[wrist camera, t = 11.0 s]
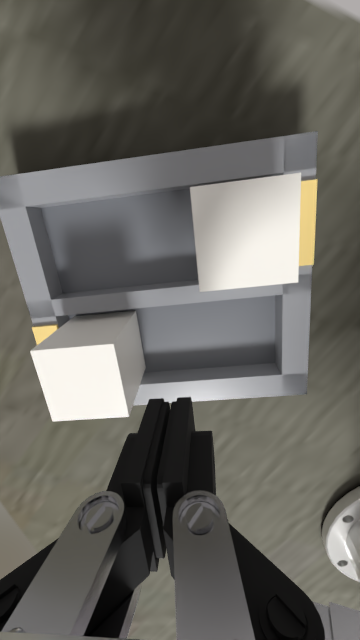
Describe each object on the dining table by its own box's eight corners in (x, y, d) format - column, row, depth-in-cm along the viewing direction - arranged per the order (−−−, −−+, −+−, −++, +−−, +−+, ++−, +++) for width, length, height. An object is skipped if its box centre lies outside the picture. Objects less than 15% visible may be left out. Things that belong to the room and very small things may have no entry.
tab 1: (145, 367, 19) (129, 416, 14) (87, 371, 19) (52, 421, 14) (135, 310, 17) (113, 343, 13) (74, 316, 18) (30, 350, 13)
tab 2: (267, 264, 16) (298, 282, 11) (198, 271, 16) (199, 292, 12) (267, 188, 15) (301, 172, 10) (191, 197, 15) (189, 187, 10)
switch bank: (292, 371, 20) (308, 395, 17) (75, 387, 21) (57, 412, 18) (297, 146, 15) (319, 129, 12) (20, 185, 17) (-15, 177, 14)
